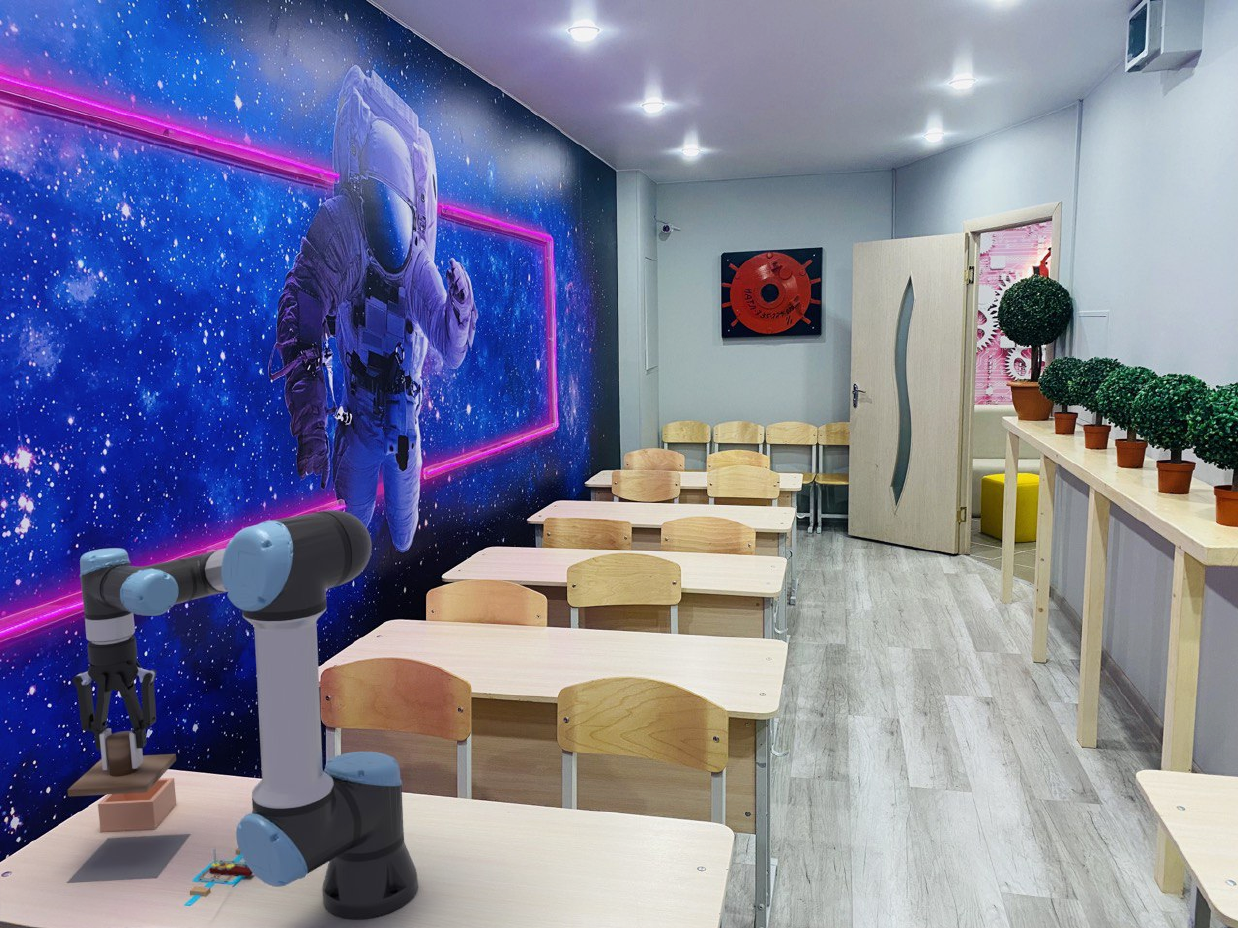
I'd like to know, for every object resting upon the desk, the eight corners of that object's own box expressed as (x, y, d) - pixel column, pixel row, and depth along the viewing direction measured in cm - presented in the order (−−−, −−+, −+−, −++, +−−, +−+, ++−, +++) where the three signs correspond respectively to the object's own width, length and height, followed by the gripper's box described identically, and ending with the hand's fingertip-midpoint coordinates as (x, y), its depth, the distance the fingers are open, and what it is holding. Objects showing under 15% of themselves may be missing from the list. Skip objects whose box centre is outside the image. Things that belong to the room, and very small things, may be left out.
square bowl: (155, 831, 182) (152, 801, 181) (100, 834, 182) (97, 804, 181) (176, 806, 192) (174, 777, 191) (124, 809, 192) (122, 780, 191)
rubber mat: (157, 880, 165) (156, 877, 165) (66, 885, 164) (66, 882, 164) (191, 836, 180) (190, 833, 180) (108, 840, 179) (108, 837, 179)
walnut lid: (146, 792, 166) (142, 749, 165) (68, 796, 165) (63, 753, 164) (176, 759, 179) (172, 719, 178) (103, 763, 178) (99, 723, 177)
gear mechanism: (283, 850, 175) (236, 846, 177) (281, 821, 174) (234, 818, 176) (218, 914, 156) (165, 909, 157) (215, 882, 155) (163, 878, 157)
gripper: (171, 629, 173) (181, 754, 176) (70, 633, 172) (82, 759, 175) (153, 642, 165) (165, 772, 168) (48, 646, 164) (61, 777, 167)
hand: (123, 765), depth 172 cm, fingers closed on walnut lid, 4 cm apart
